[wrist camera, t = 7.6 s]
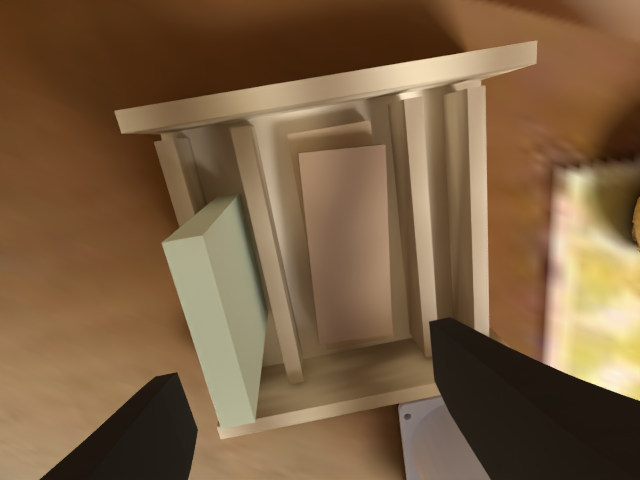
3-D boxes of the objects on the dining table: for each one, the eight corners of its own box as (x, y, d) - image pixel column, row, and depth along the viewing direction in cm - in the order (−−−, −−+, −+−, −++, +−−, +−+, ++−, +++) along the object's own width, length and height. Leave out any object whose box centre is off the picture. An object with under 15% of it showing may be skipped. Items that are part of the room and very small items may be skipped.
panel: (240, 192, 18) (202, 235, 10) (268, 311, 20) (255, 422, 12) (216, 196, 18) (161, 242, 10) (247, 315, 20) (221, 429, 12)
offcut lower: (365, 121, 17) (370, 120, 16) (389, 327, 21) (394, 337, 20) (287, 134, 17) (286, 134, 16) (324, 340, 21) (326, 350, 20)
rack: (474, 65, 17) (537, 40, 13) (480, 329, 22) (528, 377, 18) (159, 117, 17) (114, 110, 12) (234, 377, 21) (220, 439, 17)
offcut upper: (379, 144, 16) (385, 144, 16) (387, 325, 19) (392, 334, 18) (297, 152, 16) (298, 153, 15) (317, 334, 19) (319, 344, 18)
